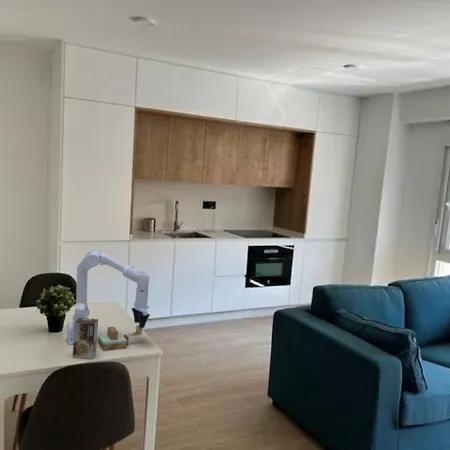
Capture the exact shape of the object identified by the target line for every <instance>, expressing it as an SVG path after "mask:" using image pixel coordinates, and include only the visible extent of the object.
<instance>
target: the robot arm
mask: <svg viewBox="0 0 450 450" xmlns="http://www.w3.org/2000/svg"><path fill="white" fill-rule="evenodd" d="M105 265H106V266H109V267H112V269H116V270H118V271H119V272H120V273H122V276H123V277H125V278H127V279H129V281H132V282H134V283H136V284H137V286H136V290H135V302H133V303H134V304H133V307H131V311H132V314H133V319H134V321H133V322H134V323H135V324H137V323H138V324H139V327H140V328H143V329H144V328H145V327H146V323H147V321H148V320H149V318H150V316H151V314H149V313H148V312H149V311H148V309H149V308H150V306H149V305H148V301H149V300H148V298H149V283H150V275H149V274H148V273H147V272H145V271H143V270H139V269H137V268H136V267H135V265H133V264H132V265H130V264H128V265H125V264H123V263H121V262H120V261H119V260H116V259H115V258H113V257H111V256H109V255H108V254H106V253H105V252H101V251H100V250H98V249H94V250H91V251H89V252H88V253H87V254H86V255H85V256H84V257H83V259H82V260H81V261H80V262H79V264H78V265H77V267H76V289H75V290H76V291H75V293H76V300H75V307H74V313H73V315H72V322H70V323H67V325H66V337H65V338H66V341H67V343H68V345H73V343H74V323H75V322H76V320H77V319H78V318H87V319H88V317H89V315H90V309H89V308H88V276H89V275H88V274H89V273H88V272H89V270H90V269H92V268H95V267H96V266H105Z"/></svg>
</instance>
